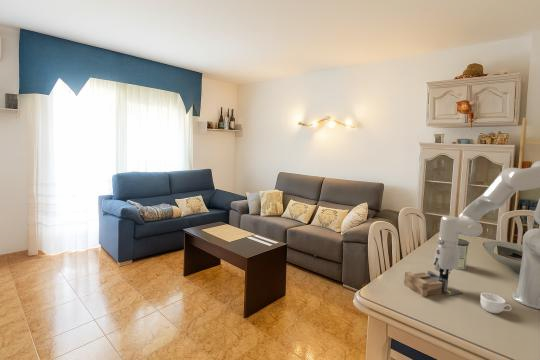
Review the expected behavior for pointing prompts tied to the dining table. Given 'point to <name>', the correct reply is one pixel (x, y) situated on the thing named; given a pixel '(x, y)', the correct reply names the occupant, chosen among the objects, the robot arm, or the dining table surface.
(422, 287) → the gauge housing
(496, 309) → the teacup
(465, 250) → the coffee can
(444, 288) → the grey angular frame piece
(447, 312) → the dining table surface
